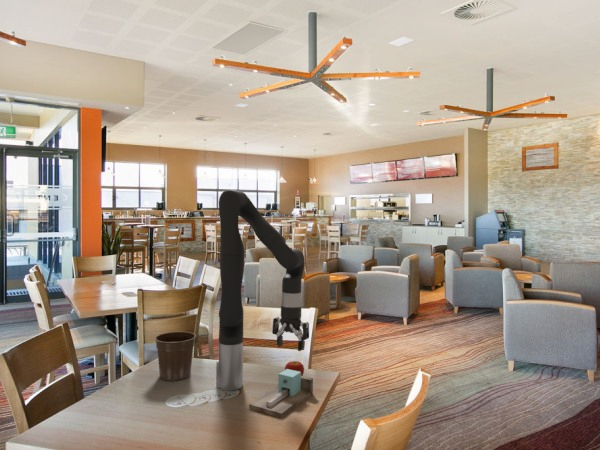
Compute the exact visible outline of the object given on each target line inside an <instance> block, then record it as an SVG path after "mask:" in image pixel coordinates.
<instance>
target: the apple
mask: <svg viewBox="0 0 600 450" xmlns="http://www.w3.org/2000/svg"><path fill="white" fill-rule="evenodd" d="M286 369H290V370H294V371H299V372H301V376H304V372H305V367H304V364H303V363H302V362H301V361H297V360H295V361H288V362H287V363H286V364H285V367H284V370H286Z"/></svg>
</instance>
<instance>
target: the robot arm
mask: <svg viewBox="0 0 600 450" xmlns="http://www.w3.org/2000/svg"><path fill="white" fill-rule="evenodd" d="M218 212H219V213H218V214H219V223H220V233H219V235H220V236H219V237H220V238H219V239H220V241H219V242H220V243H219V245H220V246H219V247H220V248H219V276H220V285H221V294H220V295H221V296H220V305H219V311H218V318H219V328H218V360H217V361H216V363H215V364H216V367H215V368H216V372H215V373H216V374H215V375H216V377H215V379H216V382H215V384H216V385H215V387H217V388H219V389H220V390H222V391H229V392H230V391H237V390H240V389H242V387H243V382H244V381H243V379H244V377H243V376H244V375H243V373H244V372H243V371H244V305H243V302H242V300H243V298H242V285H243V280H244V279H243V278H244V272H245V257H246V256H245V247H244V246H245V245H244V242H243V239H242V236H241V233H240V229H239V228H240V227H239V217H240V218H241V219H243V220H244V221H245V222H246V223H247V224H248V225H249V226H250V227H251V229H252V230H253V233H254V235H255V236H256V237H257V239H258V240H259V241H260V242H261V244H263V245H264V247H265V248H266V249H268V250H269V251H270V252H271V253H272V255H273V257H274V258H275V259H276V261H277V262H278V264H279V265H280V266H281V267H283V269H285V275H284V276H283V278H282V280H281V281H282V282H281V296H280V317H279V316H278V317H277V316H276V317H274V318H273V320H272V332H271V333H272V334H273V335H275V336H276V344H277V347H283V345H284V344H283V335H284V333H285V332H286V333H290V334H294V335H295V336H296V338H297V339H298V341H297V351H298V352H301V351H303V349H304V348H305V341H306V340H308V339H309V338H310V323H309V321H306V322H302V319H301V318H302V303H303V301H302V300H303V299H302V298H303V297H302V278H303V274H304V269H305V256H304V253H303V252H302V251H301V250H300V249H297V248H293V249H292V248H291V247H289V245H288V244H287V240H286V239H285V237H284V236H283V235H282V234H281V233H280V231H278V230H277V229H276V228H274V226H273V225H272V224H270V222H269V221H267V219H266V218H265V217H264V216H263V215H262V213H260V211H259V210H258V208H256V207H255V205H254V203H253V202H252V200H251V199H250V198H249V197H248V195H247V194H246V193H245V192H244V191H241V190H235V189H226V190H224V191H223V192H222V193H221V194H220V196H219V200H218ZM280 325H281V327H280ZM279 327H280V328H279Z"/></svg>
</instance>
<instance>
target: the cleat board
mask: <svg viewBox="0 0 600 450" xmlns="http://www.w3.org/2000/svg"><path fill="white" fill-rule="evenodd" d="M313 392H314V378H313V377H308V376H305V375H303V376H301V391H300V392H298V393H297V394H295V395H294V396H293V397H292V396H290V389H288V388H286V389H285V390H283V391H282V392H280V393H278V386H277V385H276V387H274V388H273V389H271V390H269V391H268V392H267V393H264V394H263V395H261V396H260V397H259V398H257V399H255V400H254V401H252V402H251V403H249V404H248V409H249V410H252V411H256V412H260V413H263V414H266V415H270V416H274V417H278V418H280V419H281V418H284V417H285V416H286V415H288V413H290V412H291V411H293V409H295V408H297V407H299V405H300V404H302V403H303V402H304V401H306V400H307V399H309V398H310V397H311V396H312V395H313V394H314V393H313Z"/></svg>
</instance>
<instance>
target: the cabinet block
mask: <svg viewBox="0 0 600 450" xmlns="http://www.w3.org/2000/svg"><path fill="white" fill-rule="evenodd" d="M286 388H288V389H290V396H292V397H293V396H294V395H295V394H297V393H298V392H300V391H301V372H299V371H294V370H290V369H286V370H285V369H284V370H283V371H281V372H280V373H278V393H280V392H282V391H283V390H285V389H286Z"/></svg>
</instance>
